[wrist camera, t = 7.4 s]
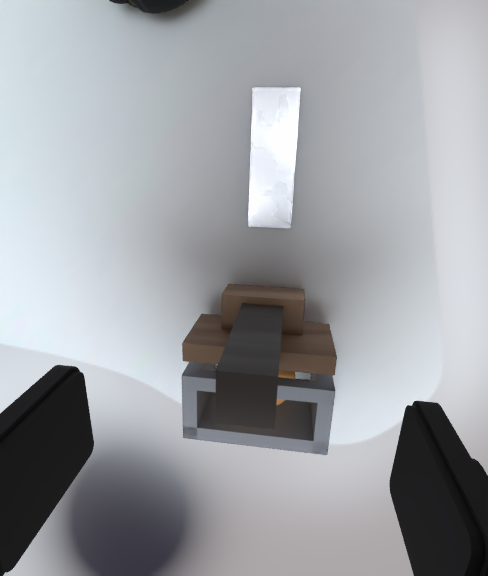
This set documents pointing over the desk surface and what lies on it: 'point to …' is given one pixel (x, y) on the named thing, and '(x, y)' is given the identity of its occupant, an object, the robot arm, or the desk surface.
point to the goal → (288, 422)
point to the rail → (273, 156)
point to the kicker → (257, 350)
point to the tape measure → (153, 4)
